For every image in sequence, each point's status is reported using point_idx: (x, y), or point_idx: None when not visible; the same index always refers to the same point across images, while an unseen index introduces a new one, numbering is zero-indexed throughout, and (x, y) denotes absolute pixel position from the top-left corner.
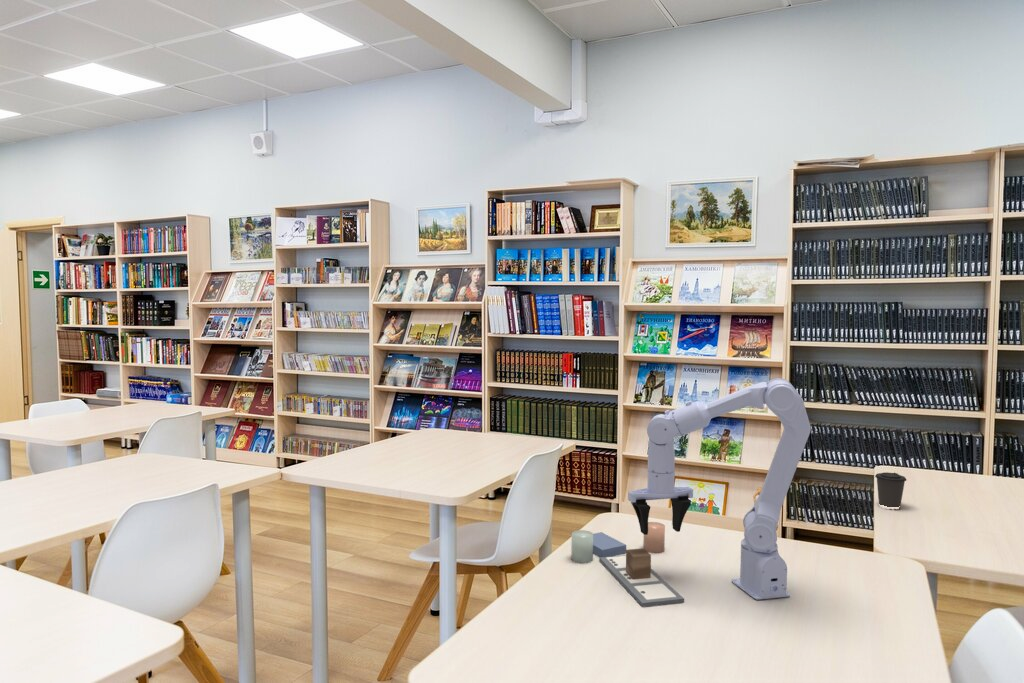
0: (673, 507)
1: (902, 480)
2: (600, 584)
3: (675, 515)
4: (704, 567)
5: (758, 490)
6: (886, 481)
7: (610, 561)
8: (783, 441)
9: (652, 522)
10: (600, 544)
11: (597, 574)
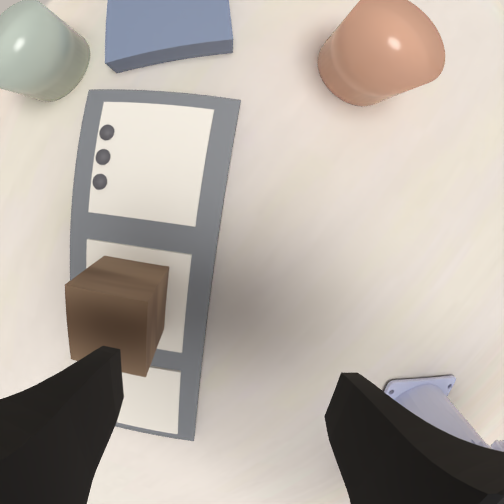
0: (408, 478)
1: None
2: (27, 272)
3: (372, 458)
4: (407, 278)
5: None
6: None
7: (98, 143)
8: None
9: (411, 8)
10: (134, 11)
11: (40, 201)
